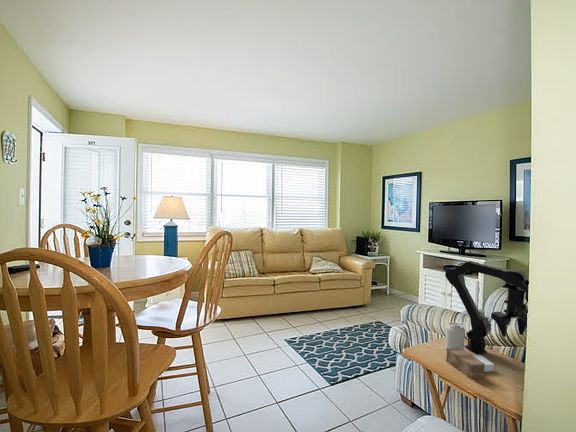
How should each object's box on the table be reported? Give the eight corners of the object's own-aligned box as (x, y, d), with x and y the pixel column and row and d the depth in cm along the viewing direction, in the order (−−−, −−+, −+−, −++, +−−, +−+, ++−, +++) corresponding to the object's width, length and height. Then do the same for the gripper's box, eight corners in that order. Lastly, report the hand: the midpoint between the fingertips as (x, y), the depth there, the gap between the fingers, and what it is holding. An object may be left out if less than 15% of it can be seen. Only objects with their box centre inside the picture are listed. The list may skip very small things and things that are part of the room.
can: (455, 355, 136) (457, 329, 135) (441, 347, 143) (443, 322, 142) (467, 352, 139) (469, 326, 138) (452, 344, 146) (454, 320, 145)
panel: (455, 364, 129) (455, 357, 129) (479, 361, 131) (479, 354, 131) (468, 373, 122) (468, 366, 122) (493, 371, 124) (493, 363, 124)
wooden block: (446, 361, 131) (447, 348, 130) (457, 359, 132) (458, 347, 132) (471, 379, 118) (472, 365, 118) (483, 377, 120) (484, 363, 119)
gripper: (516, 308, 119) (513, 347, 120) (552, 305, 124) (549, 342, 125) (491, 298, 130) (488, 334, 131) (525, 296, 134) (522, 330, 135)
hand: (512, 335), depth 130 cm, fingers open, 9 cm apart
